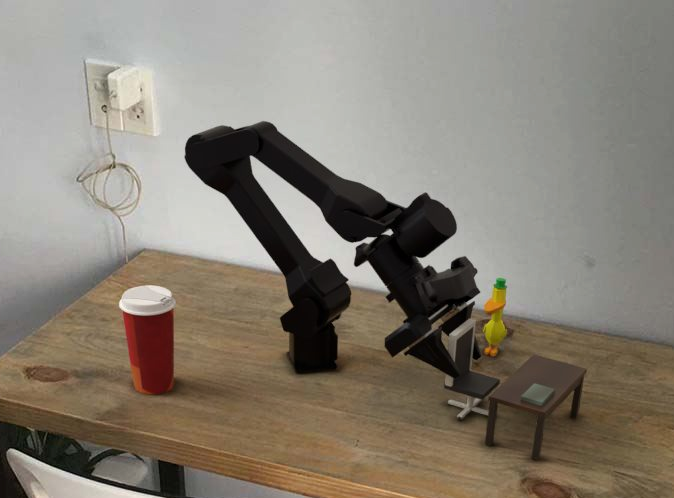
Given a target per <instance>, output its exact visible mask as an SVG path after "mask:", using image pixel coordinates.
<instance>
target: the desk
mask: <svg viewBox="0 0 674 498" xmlns="http://www.w3.org/2000/svg"><path fill="white" fill-rule="evenodd" d="M587 372H588V368H586V367H582V366H579V365H575V364H571V363H567V362H564V361H561V360H557V359H553V358H550V357H546V356H542V355H539V354H535V353H533V354H532V355H531V356H530V357H529V358H528V359H527V360H525V361H524V362H523V363H522V364H521V365H520V366H519V367H518V368H517V369H516V370H515V371H514V372H513V373H512V374H510V375H509V376H508V378H506V379H505V380H504V381H503V382H502V383H500V384H499V385H498V386H497V387H496V388H495V389H494V390H493V391H492V392H491V393H490V394H488V400H487V401H489V405H488V411H489V412H488V416H487V423H486V431H485V438H484V439H485V441H484V445H485V446H488V447H492V446H493V445H494V441H495V434H496V433H495V432H496V425H497V424H496V423H497V414H498V405H502V406H505V407H509V408H512V409H516V410H518V411H522V412H524V413H525V412H526V413H529V414H532V415H536V423H535V429H534V437H533V444H532V450H531V460H532V461H535V462H538V461H539V460H540V458H541V452H542V444H543V438H544V431H545V426H546V425H545V424H546V420H547V419H549V417H550V416H551V415H552V414H553V413H554V412H555V411H556V410H557V409H558V408H559V407H560V406H561V404H562V403H564V401H565V400H566V399H567V398H568V397H569V396H570V395H571V394H572V393H573V395H572V401H571V408H570V413H569V417H570V418H572V419H577V418H578V417H579V412H580V407H581V401H582V395H583V386H584V381H585V376H586V374H587Z"/></svg>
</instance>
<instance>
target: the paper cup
mask: <svg viewBox="0 0 674 498" xmlns="http://www.w3.org/2000/svg"><path fill="white" fill-rule="evenodd" d="M176 304H177V303H176V298H174V297H173V293H172V292H171V290H170V289H168V288H166V287H164V286H159V285H151V284H150V285H140V286H134V287H132V288H129V289H127V290H125V291H124V292H123V294H122V295H121V299H120V300H119V303H118V306H119V309H120V310H121V311H122V317H123V324H124V331H125V337H126V344H127V350H128V351H127V352H128V356H129V363H130V369H131V376H132V380H133V385H134V389H135V391H137V392H139V393H140V394H144V395H161V394H165V393H167V392H169V391H170V390H172V389H173V387H174V382H175V381H174V380H175V379H174V378H175V335H174V334H175V330H174V329H175V323H174V322H175V321H174V319H175V316H174V315H175V314H174V313H175V310H174V308H175V307H176Z"/></svg>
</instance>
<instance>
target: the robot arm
mask: <svg viewBox="0 0 674 498" xmlns="http://www.w3.org/2000/svg"><path fill="white" fill-rule="evenodd" d="M183 157H184V160H185V164H187V167H188V168H189V169H190V170H191V171H192V172H193V174H194V175H195V176H196V177H197V178H198V179H199V180H200V181H201V182H202V183H203V184H204V185H206V186H207V187H209V188H211V189H213V190H215V191H216V192H218V193H220V194H222V195H224V197H226V198H227V200H228V201H229V203H230V204H231V205H232V206H233V208H234V209H235V211H236V212H237V213H238V215H239V216H240V218H241V219H242V220H243V222H244V223H245V225H246V226H247V227H248V228H249V230H250V231H251V232H252V234H253V236H254V237H255V238H256V239H257V240H258V242H259V244H261V246H262V248H263V249H264V250H265V252H266V253H267V255H268V256H269V257H270V259H272V261H273V262H274V264H275V266H277V268H278V270H279V271H280V272H281V274H282V275H283V276H284V279H285V284H286V291H287V296H288V300H289V302H290V303H291V305H292V307H291V308H289V309H288V310H287V311H286V312H285V313H284V314H282V315H281V316H279V320H280V324H281V327H282V330H283V332H286V333H288V351H286V353H285V356H286V358H287V360H288V361H289V363H290V365H291V368H292V369H293V372H294V373H296V374H302V373H303V374H304V373H313V372H314V373H315V372H321V371H323V372H324V371H331V370H332V371H333V370H337V369H338V364H337V362H336V361H337V360H338V357H339V356H338V355H339V354H338V353H339V349H338V346H339V335H338V334H337V332H336V329H335V328H336V326H335V325H334V323H335V321H338V320H340V318H341V316H342V315H343V313H344V312H345V311H347V310H348V308H349V307H350V305H351V300H352V290H351V288H350V286H349V284H348V283H347V282H349V278H348V277H347V276H345V275H344V274H343V273H342V272H341V270H340V268H339V266H338V265H337V263H336V262H335V261H334V259H333V258H328V259H326V260H325V261H321V260H319V259H317V258H316V257H314V256H313V255H312V254H311V253H310V251H309V250H308V249H307V247H306V246H305V245H304V243H303V242H302V240H301V239H300V238H299V237H298V235H297V233H296V232H295V231H294V229H293V227H292V226H291V225H290V224H289V222H288V221H287V220H286V218H285V217H284V216H283V214H282V213H281V211H280V210H279V209H278V207H277V206H276V205H275V203H274V202H273V201H272V199H271V197H269V195H268V194H267V192H266V191H265V190H264V188H263V187H262V186H261V184H260V183H259V181H258V180H257V178H256V177H255V176H254V173H253V166H252V160H251V157H253V158H254V159H256V160H257V161H259V162H260V164H262V165H264V166H265V167H266V168H268V169H269V170H270V171H272V172H273V173H274V174H276V175H277V176H278V177H279V178H281V179H282V180H283V181H285V182H286V183H287V184H289V185H290V186H292V188H293V189H295V190H297V191H298V192H299V193H301V194H302V195H303V196H305V197H306V198H307V199H309V200H310V201H311V202H313V203H314V204H315V205H316V206H317V208H319V210H320V212H321V214H322V216H323V219H324V220H325V222H326V224H327V225H328V226H329V227H331V228H332V229H333V231H334V232H335V233H336V234H337V235H338V236H339V237H340V238H341V239H343V240H344V241H346V242H348V243H351V244H353V243H360V242H362V243H360V244H358V245H357V246H355V255H354V259H353V266H354V267H355V268H358V267H361V266H362V265H363V264H364V263H368V264H369V265H370V266H371V267H372V269H373V271H374V272H375V274H376V275H377V277H378V278H379V279H380V280H381V282H382V284H383V285H384V286H385V287H386V289H387V291H388V292H389V294H387V295H385V298H386V301H388V303H391V302H393V301H395V302H396V303H397V305H398V306H399V307H400V309H401V310H402V312H403V313H404V315H405V316H406V318H405V319H403V320H402V322H403V324H402V325H400V326H399V327H398V328H395V330H393V331H392V332H391V333H389V334H388V335H387V336H385V337H384V343H383V345H384V346H383V347H384V349H385V350H386V351H387V352H388V354H389V355H390V357H391V358H394V357H396V356H397V355H399V354H400V353H402V352H403V351H404V350H405V349H407V348H408V349H407V350H405V351H404V352H403V355H404V356H408V355H409V356H410V357H413V358H415V359H417V360H419V361H421V362H423V363H426V364H427V365H429V366H431V367H433V368H434V369H436V370H438V371H440V372H441V373H444V374H445V375H446V374H447V375H449V376H451V377H452V378H457V377H458V376H460V372H459V370H458V368H457V366H456V364H455V362H454V361H453V359H452V357H451V356H450V354H449V352H448V348H447V347H446V346H445V344H444V342H443V339H442V337H443V335H442V334H443V333H444V334H445V335H446V336H447V337H448V338H449V334H450V333H452V332H453V331H454V330H455V329H457V328H458V327H459V326H460V325H462V324H463V323H464V322H466V321H467V320H468V319H469V318H471V319H472V314H473V309H474V306H475V305H476V301H475V300H473V299H474V298H476V296H478V295H479V294H481V293H482V291H481V290H480V289H479V287H478V286H477V282H476V279H475V277H476V275H477V274H478V273H479V271H478V268H477V267H475V265H474V264H473V263H472V262H471V261H470V260H469V258H468V257H467V256H466V255H462V256H459V257H457V258H455V259H453V260H452V261H451V262H450V268H447V269H445V270H442V271H440V272H437V271H436V269H435V267H434V266H432V265H430V264H428V265H427V266H425V267H424V265H422V263H421V262H420V260H419V259H424V258H426V257H427V256H429V255H431V253H433V252H434V251H435V250H437V249H438V248H440V247H441V246H442V245H443V244H445V242H447V241H448V240H450V239H451V238H452V237H454V236H455V234H457V230H458V224H457V220H456V218H455V215H454V214H453V212H452V210H451V209H450V208H449V207H447V206H445V204H443V203H442V202H441V201H440V200H437V199H434V198H431V196H430V194H429V193H428V192H426V191H425V192H423V193H421V194H419V195H418V196H416V197H415V198H414V199H413V200H412V201H411V203H410V204H409V205H408V206H407V207H405V206H402V205H400V204H397V203H395V202H392V201H390V200H387V199H386V198H385V197H384V195H382V193H380V192H379V191H377V190H375V189H373V188H371V187H369V186H367V185H365V184H364V183H362V182H358V181H354V180H351V179H346V178H344V177H341V176H339V175H338V174H336V173H334V171H332V170H331V169H330V168H328V167H327V166H326V165H324V164H323V163H322V162H320V161H319V160H318V159H316V158H315V157H313V156H312V155H311V154H309V153H308V152H306V150H304V149H303V148H302V147H300V146H299V145H297V144H296V143H295V142H294V141H293V140H291V139H290V138H288V137H287V136H285V135H284V134H283V133H282V132H281V131H279V130H278V128H277V126H276V125H274V123H272V122H270V121H268V120H267V121H265V120H261V121H259V122H255V123H253V124H251V125H250V124H249V125H245V126H241V127H237V128H235V129H234V128H233V127H232V126H228V125H224V124H223V125H222V124H221V125H216V126H214V127H211V128H209V129H205V130H203V131H201V132H197V133H195V134H192V135H191V136H189V137H188V139H187V140H186V142H185V146H184V156H183ZM390 230H391V232H392V234H386V232H388V231H390ZM367 238H374V239H372V240H371V241H370V242H369V243H367V242H363V241H364V240H367ZM472 300H473V301H472ZM469 301H471V302H470V303H469V304H467V303H468V302H469ZM439 320H441V321H442V323H441V324H440V325H438V326H437V328H436V329H435V328H434V327H433V324H435V323H436V322H438V321H439ZM481 358H482V352H481V349H480V346H479V343H478V340H477V337H476V335H475V336H474V347H473V357H472V360H474V361H478V360H479V359H481Z"/></svg>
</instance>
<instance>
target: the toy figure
mask: <svg viewBox="0 0 674 498" xmlns="http://www.w3.org/2000/svg"><path fill="white" fill-rule="evenodd" d="M506 282H507V279H506V278H503V277H497V278H495V283H494V284H493V285H492V292H491V293H492V294H491V298H489V299H488V300H487V301H486V302H485V303H484V306H483V311H484V312H485V314H486V315H488V316H491V319H490V320H489V321H488V322H487V323H485V324H484V325H483V330H482V334H484V337H485V339H486V340H487V343H488V347H485V348H484V352H483V354H484V355H486V356H487V355H490V357H495V356H497V354H498V352H499V350H498V345H499V344H500V343H501V342H502V341H503V339H505V337H506V336H507V333H508V329H507V328H505V327H506V325H505V324H504V321H503V320H502V318H503V314H504V309H505V307H506V304H507V300H506V297H507V296H506V295H507V288H508V286H507V285H506ZM492 346H494V348H492Z"/></svg>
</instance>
